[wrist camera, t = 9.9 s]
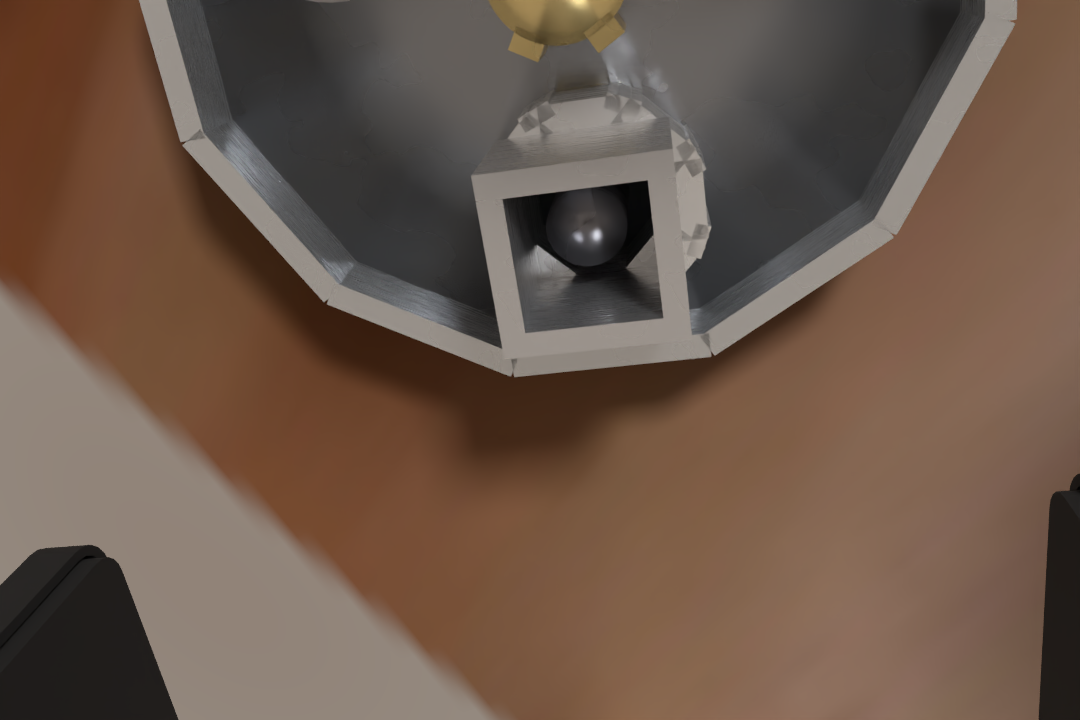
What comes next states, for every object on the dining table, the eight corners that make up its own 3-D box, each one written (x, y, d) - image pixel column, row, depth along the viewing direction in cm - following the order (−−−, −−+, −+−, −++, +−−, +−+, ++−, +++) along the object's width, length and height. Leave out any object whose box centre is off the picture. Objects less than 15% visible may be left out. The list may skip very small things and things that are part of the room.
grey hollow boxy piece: (694, 68, 26) (706, 106, 21) (714, 283, 28) (729, 367, 23) (473, 100, 27) (428, 144, 22) (509, 306, 29) (477, 392, 24)
